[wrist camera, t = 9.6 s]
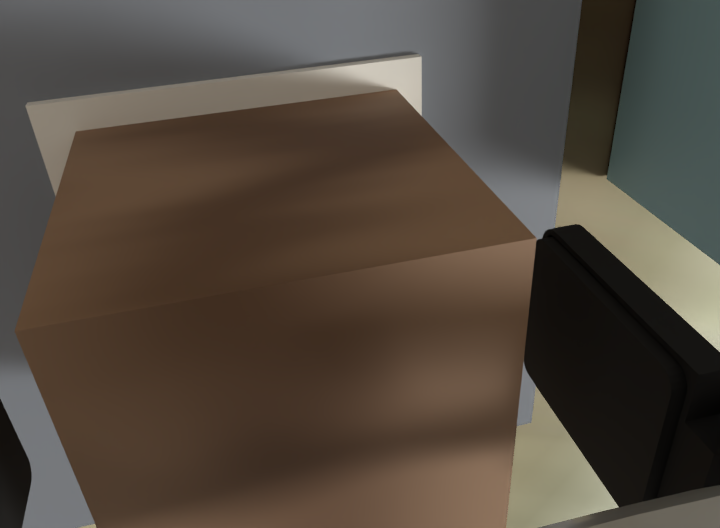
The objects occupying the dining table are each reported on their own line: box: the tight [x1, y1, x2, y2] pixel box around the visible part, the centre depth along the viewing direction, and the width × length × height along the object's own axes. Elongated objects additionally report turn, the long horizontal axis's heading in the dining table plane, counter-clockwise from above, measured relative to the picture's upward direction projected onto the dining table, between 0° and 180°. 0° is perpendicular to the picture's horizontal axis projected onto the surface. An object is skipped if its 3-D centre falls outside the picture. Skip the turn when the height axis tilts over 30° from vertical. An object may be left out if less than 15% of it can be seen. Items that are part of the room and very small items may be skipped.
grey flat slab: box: [0, 0, 582, 528], centre depth 15 cm, size 14×15×1 cm
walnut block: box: [15, 89, 537, 528], centre depth 12 cm, size 6×6×6 cm
